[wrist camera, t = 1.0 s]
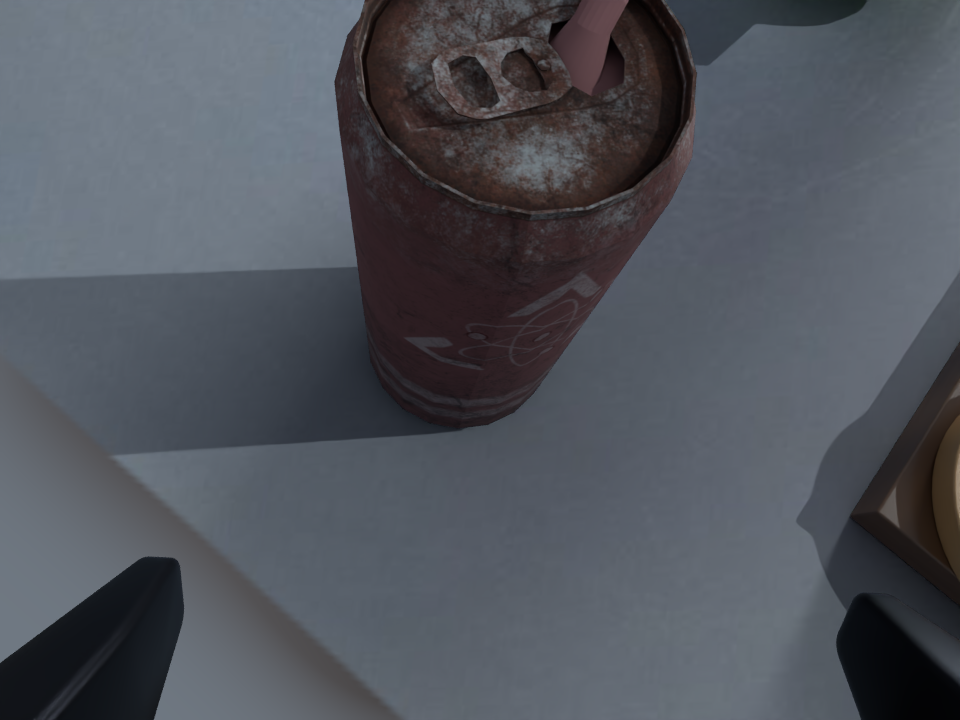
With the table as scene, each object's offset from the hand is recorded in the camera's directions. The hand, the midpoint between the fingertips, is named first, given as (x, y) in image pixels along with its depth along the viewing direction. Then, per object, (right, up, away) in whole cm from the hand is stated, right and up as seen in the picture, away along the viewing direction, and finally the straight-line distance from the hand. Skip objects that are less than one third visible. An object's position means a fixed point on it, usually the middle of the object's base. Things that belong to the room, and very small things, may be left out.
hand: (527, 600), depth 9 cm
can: (-1, +4, +15) cm, 16 cm away
